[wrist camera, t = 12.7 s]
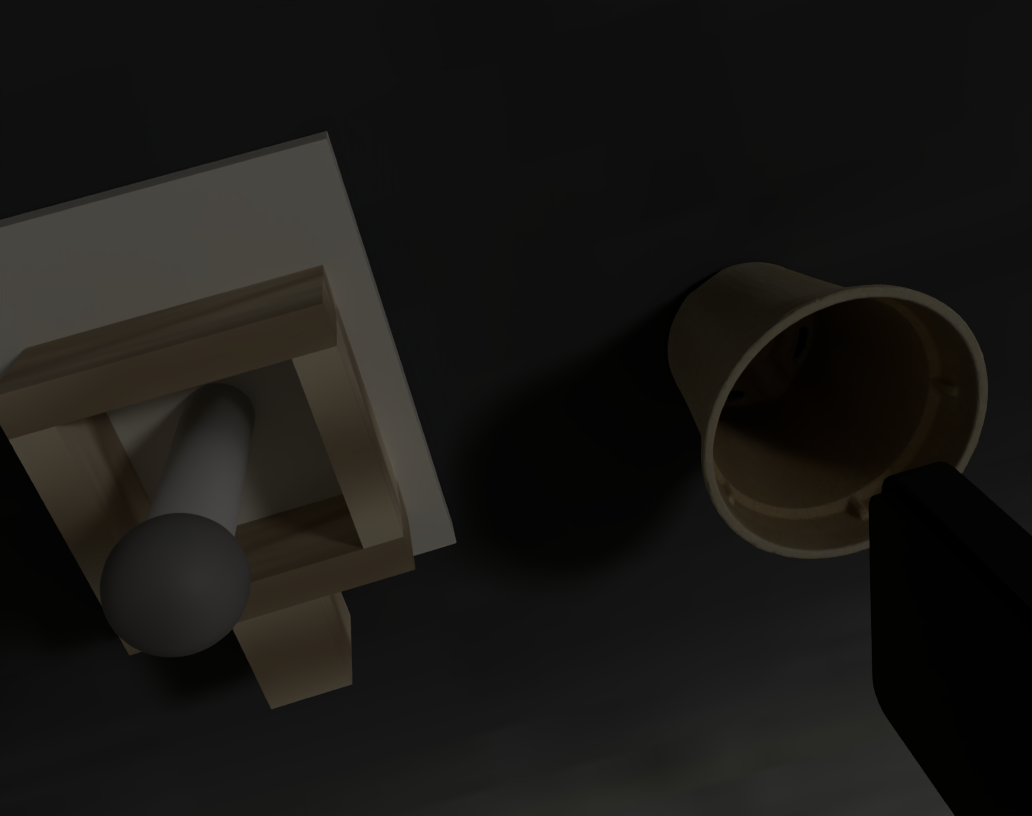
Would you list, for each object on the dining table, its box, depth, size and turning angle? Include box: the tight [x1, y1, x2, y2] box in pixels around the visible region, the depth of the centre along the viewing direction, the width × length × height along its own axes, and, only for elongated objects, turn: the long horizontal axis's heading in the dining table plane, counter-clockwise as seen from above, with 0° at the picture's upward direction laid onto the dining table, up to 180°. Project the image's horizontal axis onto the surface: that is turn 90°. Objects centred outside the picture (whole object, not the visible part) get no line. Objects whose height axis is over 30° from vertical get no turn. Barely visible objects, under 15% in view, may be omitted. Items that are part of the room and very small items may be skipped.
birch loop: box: [0, 265, 415, 709], centre depth 32 cm, size 14×10×4 cm
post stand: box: [0, 131, 456, 657], centre depth 28 cm, size 16×13×13 cm
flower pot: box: [668, 262, 988, 559], centre depth 33 cm, size 9×9×9 cm
